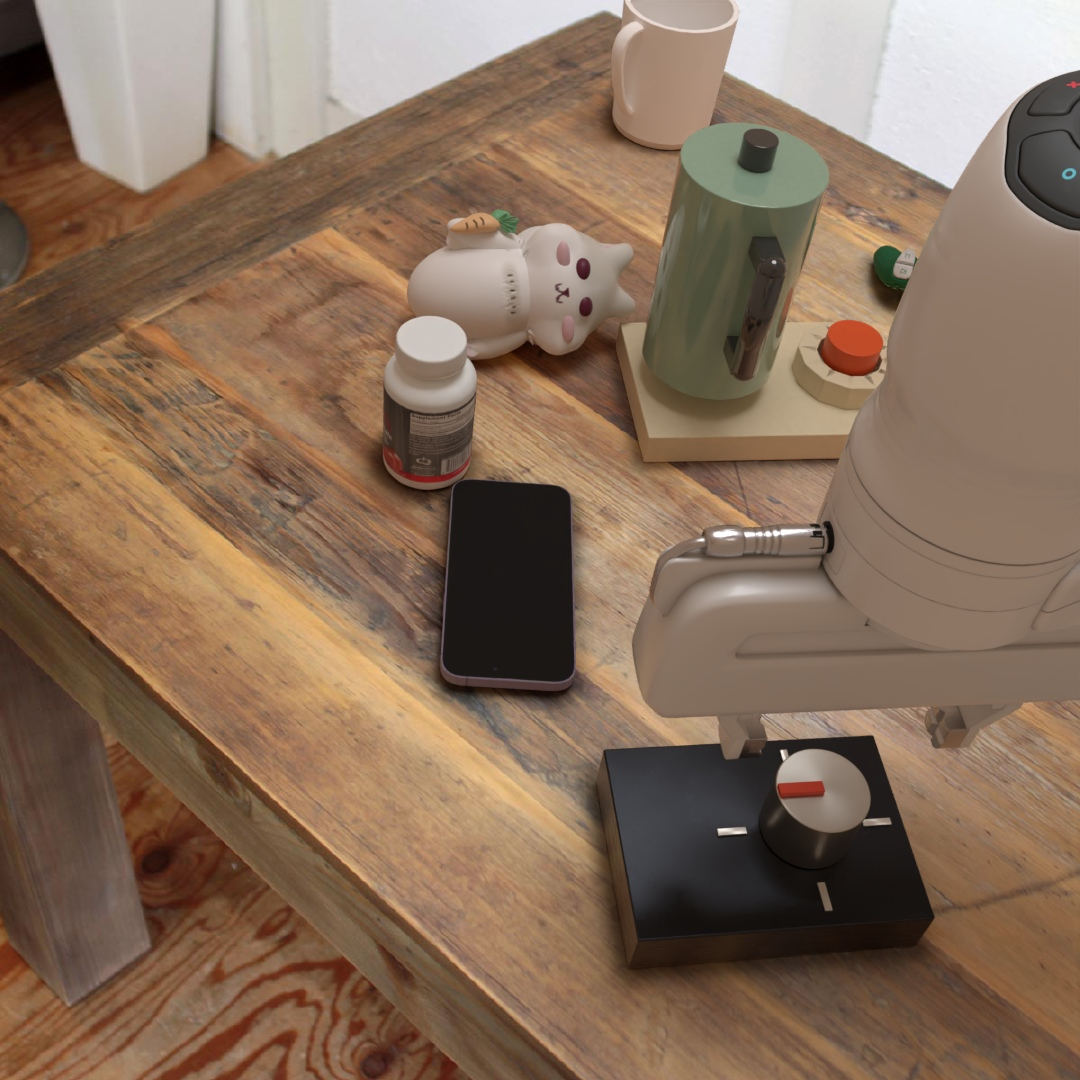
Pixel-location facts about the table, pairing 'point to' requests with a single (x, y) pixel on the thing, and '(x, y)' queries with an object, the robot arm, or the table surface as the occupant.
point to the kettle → (731, 258)
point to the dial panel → (747, 860)
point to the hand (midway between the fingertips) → (841, 740)
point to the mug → (669, 67)
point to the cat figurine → (521, 284)
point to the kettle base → (749, 405)
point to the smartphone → (509, 587)
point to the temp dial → (814, 808)
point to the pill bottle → (429, 404)
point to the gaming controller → (894, 266)
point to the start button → (852, 347)
